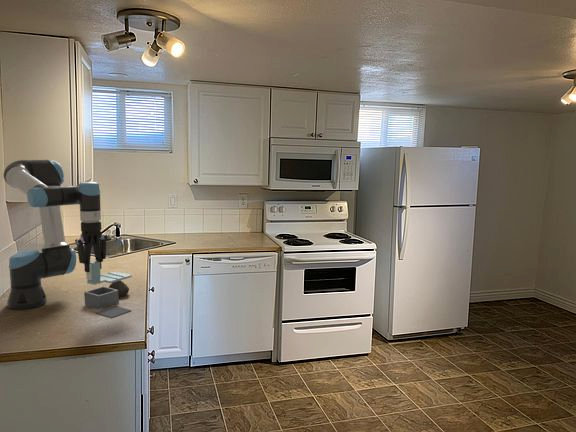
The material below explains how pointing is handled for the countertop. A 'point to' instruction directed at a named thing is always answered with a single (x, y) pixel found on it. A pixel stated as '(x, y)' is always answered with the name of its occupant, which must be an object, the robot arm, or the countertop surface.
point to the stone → (120, 288)
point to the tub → (101, 297)
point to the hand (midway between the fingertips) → (93, 278)
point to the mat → (113, 311)
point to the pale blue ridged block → (105, 275)
